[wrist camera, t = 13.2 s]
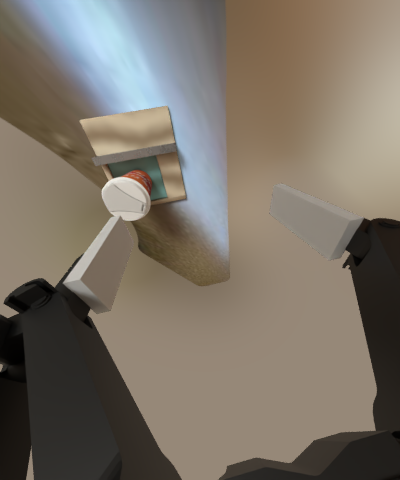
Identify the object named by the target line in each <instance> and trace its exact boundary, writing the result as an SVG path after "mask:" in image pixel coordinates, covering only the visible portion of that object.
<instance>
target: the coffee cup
mask: <svg viewBox="0 0 400 480" xmlns="http://www.w3.org/2000/svg"><path fill="white" fill-rule="evenodd" d="M151 189H152V181H151V178H150V176H149V175H148V174H147V173H146V172H144V171H142V170H133V171H131V172H129V173H127V174H125V175H123V176H122V177H117V178H114V179H111V180H110V181H109V182H107V183H106V185H105V186H104V188H103V189H102V199H103V200H104V203H105V205H106V207H107V209H108V210H109V211H110V213H112V214H113V215H114V216H120V215H121V217H122V219H123V220H126V221H133V220H137V219H140V218H142V217H144V216H145V215H146V214H147V213H148V211H149V209H150V205H151V200H150V195H151Z"/></svg>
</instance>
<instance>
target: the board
mask: <svg viewBox="0 0 400 480" xmlns="http://www.w3.org/2000/svg"><path fill="white" fill-rule="evenodd" d="M80 122H81V124H82V126H83V128H84V131H85V133H86V135H87V137H88V139H89V141H90V143H91V145H92V147H93V149H94V151H95V153H96V155H97V156H101V155H106V154H112V153H118V152H123V151H129V150H135V149H140V148H146V147H152V146H157V145H163V144H168V143H174V142H175V140H174V135H173V130H172V125H171V120H170V115H169V110H168V106H163V107H157V108H151V109H145V110H139V111H133V112H126V113H120V114H114V115H108V116H102V117H96V118H90V119H84V120H80ZM156 156H157V158H156ZM157 160H158V162H157ZM158 163H159V165H158ZM108 166H109V167H108ZM102 167H103V169H104V171H105V174H106V176H107V178H108V180H109V181H110V180H111V179H114V178H117V177H122V176H123V175H125V174H127V173H129V172H131V171H133V170H142V171H144V172H146V173H147V174H148V175H149V176H150V178H151V181H152V189H151V195H150V200H153V201H151V205H155V204H160V203H165V202H171V201H176V200H181V199H186V195H185V190H184V185H183V180H182V175H181V170H180V165H179V160H178V155H177V151H176V152H170V153H165V154H159V155H154V156H148V157H142V158H137V159H131V160H126V161H120V162H115V163H109V164H108V165H107V164H104V165H102ZM159 167H160V169H159ZM109 168H110V169H109ZM110 170H111V172H112V174H113V176H112V174H111V172H110ZM160 171H161V172H160ZM161 174H162V176H161ZM113 177H114V178H113ZM162 178H163V179H162ZM163 181H164V183H163ZM164 185H165V187H164ZM165 189H166V190H165ZM166 192H167V194H166ZM167 196H168V198H165V197H167ZM160 198H163V199H160ZM155 199H158V200H155Z"/></svg>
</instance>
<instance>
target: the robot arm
mask: <svg viewBox="0 0 400 480" xmlns="http://www.w3.org/2000/svg"><path fill="white" fill-rule="evenodd" d="M269 214H270V215H271V216H273V217H274V218H275V219H276V220H278V221H279V222H280V223H282V224H283V225H284V226H286V227H287V228H288V229H289V230H290V231H292V232H293V233H294V234H296V235H297V236H298V237H300V238H301V239H302V240H303V241H305V242H306V243H307V244H308V245H310V246H311V247H312V248H314V249H315V250H316V251H317V252H319V253H320V254H321V255H322V256H324V257H325V258H326V259H328V260H333V259H338V258H341V256H342V255H343V253H344V251H345V250H347V251H348V252H350V255H349V257H348V258H347V260H346V262H345V263H344V264H343V268H345V267H346V266H347V265H350V267H349V269H350V270H351V274H352V278H353V283H354V287H355V292H356V296H357V300H358V305H359V310H360V314H361V318H362V323H363V327H364V332H365V336H366V341H367V345H368V349H369V354H370V358H371V363H372V367H373V372H374V376H375V381H376V385H377V395H376V398H375V400H374V403H373V416H374V423H375V428H376V431H365V432H344V433H338V434H335V435H331V436H328V437H325V438H321V439H318V440H314V441H313V442H312V443H311V444H310V445H309V446H308V447H307V448H306V449H305V450H304V451H303V452H302V453H301V454H300V455H299V456H298V457H297V458H296V459H295V460H294V461H293V462H292V463H284V462H278V461H272V460H266V459H261V458H253V459H250V460H246V461H243V462H240V463H236V464H233V465H229V466H227V470H226V473H225V474H224V475H223V476H222V477H220V478H219V480H400V221H396V220H392V219H386V218H377V219H373V220H371V221H370V220H367V219H365V218H364V217H361V216H359V215H356V214H354V213H352V212H350V211H347V210H345V209H342V208H340V207H337V206H335V205H333V204H330V203H328V202H326V201H323V200H321V199H318V198H316V197H314V196H311V195H309V194H306V193H304V192H302V191H299V190H297V189H295V188H292V187H290V186H287V185H285V184H277V185H274V187H273V194H272V200H271V206H270V213H269ZM133 244H134V241H133V239H132V237H131V235H130V233H129V231H128V229H127V227H126V225H125V223H124V221H123V219H122V217H121V215H120V216H115V217H111V218H110V220H109V221H108V222H107V224H106V225H105V226H104V228H103V229H102V231H101V232H100V233H99V234H98V236H97V237H96V239H95V240H94V241H93V243H92V244H91V245H90V247H89V248H88V249H87V251H86V252H85V253H84V254H82V255H81V256H80V257H79V258H77V259H76V261H75V262H74V263H73V265H72V267H70V268H69V270H68V272H66V274H65V275H64V276H63V278H62V279H61V280H60V281H59V283H58V284H57V285H56V287H55V288H54V287H53V286H52V285H50V284H49V283H48V282H47V281H46V280H44V279H42V278H41V279H40V278H38V279H35V280H32V281H30V282H27V283H25V284H23V285H22V286H20V287H18V288H17V289H15V290H14V291H13V292H12V293H10V294H9V296H8V297H7V298H6V299H5V301H4V304H5V305H7V306H9V307H10V308H12V309H14V310H16V311H17V312H19V314H17V315H14V316H12V317H10V318H6V317H4V316H2V315H0V364H2V365H3V368H2V370H1V372H0V480H26V476H27V470H28V463H29V457H30V451H31V445H32V459H33V472H34V480H182V479H181V478H180V476H179V474H178V473H177V471H176V469H175V467H174V466H173V465H172V463H171V462H170V461H169V460H168V459H167V458H166V457H165V456H164V454H163V453H162V452H161V450H160V448H159V447H158V445H157V443H156V441H155V439H154V437H153V435H152V433H151V432H150V430H149V428H148V426H147V424H146V422H145V421H144V418H143V416H142V414H141V413H140V411H139V409H138V407H137V405H136V403H135V401H134V399H133V397H132V396H131V393H130V392H129V390H128V388H127V386H126V384H125V382H124V380H123V378H122V376H121V374H120V372H119V371H118V369H117V367H116V365H115V363H114V361H113V359H112V357H111V355H110V354H109V352H108V350H107V348H106V346H105V344H104V342H103V340H102V338H101V337H100V334H99V332H98V331H97V329H96V327H95V325H94V323H93V321H92V319H91V318H90V317H89V316H88V313H89V311H90V308H91V309H92V310H93V311H94V312H95V313H96V314H99V313H103V312H107V311H110V310H111V308H112V305H113V302H114V299H115V296H116V293H117V291H118V288H119V285H120V282H121V279H122V276H123V273H124V270H125V267H126V264H127V262H128V259H129V256H130V253H131V250H132V247H133Z"/></svg>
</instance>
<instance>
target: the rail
mask: <svg viewBox="0 0 400 480" xmlns="http://www.w3.org/2000/svg"><path fill="white" fill-rule="evenodd" d="M176 151H177V149H176V144H175V142H174V143H168V144H163V145H157V146H152V147H146V148H140V149H135V150H129V151H123V152H118V153H112V154H106V155H101V156H96V157H92V160H93V162H94V164H95V166H98V165H104V164H109V163H115V162H120V161H126V160H131V159H137V158H142V157H148V156H154V155H159V154H165V153H170V152H176Z"/></svg>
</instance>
